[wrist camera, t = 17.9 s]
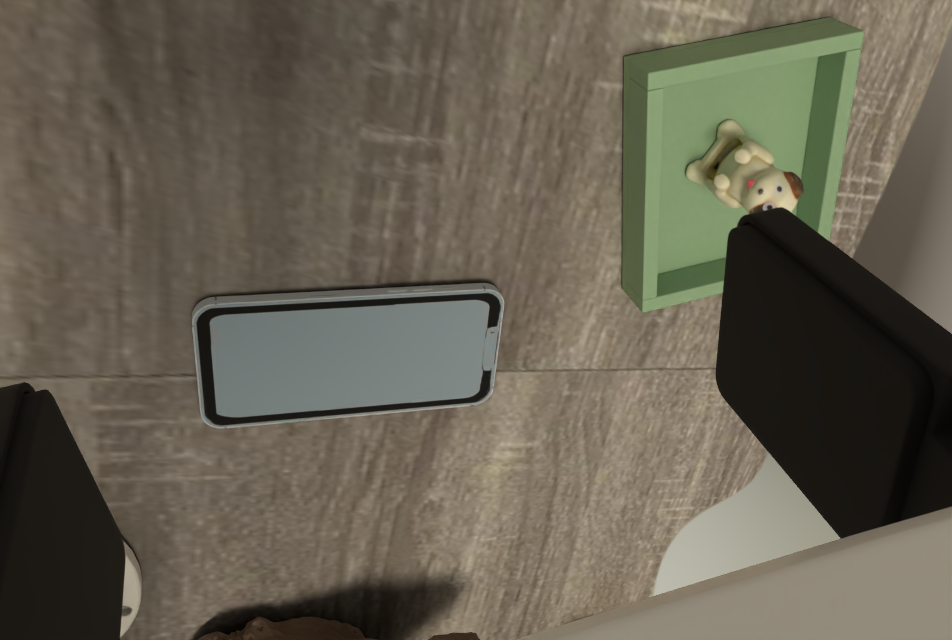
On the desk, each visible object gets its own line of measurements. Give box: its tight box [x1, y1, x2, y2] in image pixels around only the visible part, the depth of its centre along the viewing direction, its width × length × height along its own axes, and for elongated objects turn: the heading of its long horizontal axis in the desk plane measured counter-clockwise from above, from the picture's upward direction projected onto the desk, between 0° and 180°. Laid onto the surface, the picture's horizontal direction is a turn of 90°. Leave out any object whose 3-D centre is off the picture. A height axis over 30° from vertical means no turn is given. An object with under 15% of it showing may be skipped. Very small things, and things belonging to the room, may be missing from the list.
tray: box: [622, 17, 864, 313], centre depth 42 cm, size 13×11×3 cm
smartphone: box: [192, 283, 504, 429], centre depth 43 cm, size 7×1×15 cm
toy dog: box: [686, 119, 804, 214], centre depth 41 cm, size 4×5×5 cm
